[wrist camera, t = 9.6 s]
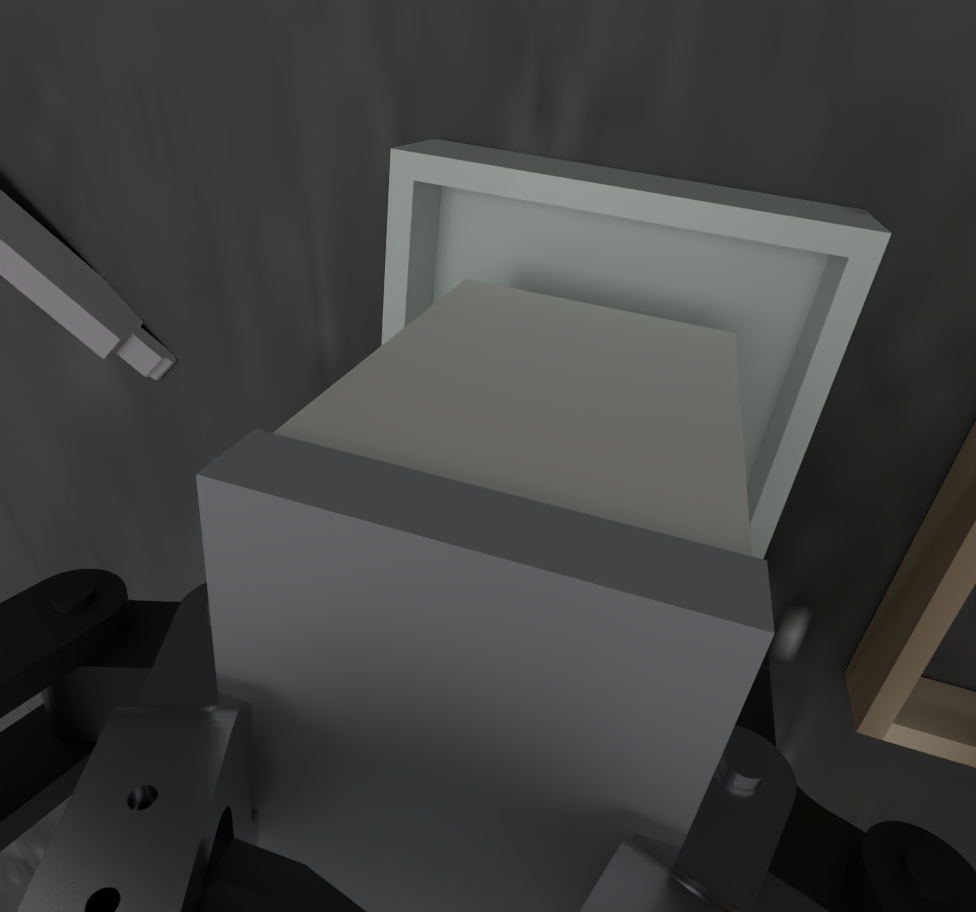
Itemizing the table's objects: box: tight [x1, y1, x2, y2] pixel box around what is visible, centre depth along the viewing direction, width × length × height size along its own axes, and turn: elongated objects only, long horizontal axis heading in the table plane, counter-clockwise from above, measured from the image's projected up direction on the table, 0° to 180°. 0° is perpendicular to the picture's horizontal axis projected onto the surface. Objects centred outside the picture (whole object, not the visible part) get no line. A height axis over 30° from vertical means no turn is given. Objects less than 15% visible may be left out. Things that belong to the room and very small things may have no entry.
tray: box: [382, 139, 891, 559], centre depth 17 cm, size 9×12×2 cm
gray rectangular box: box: [196, 279, 775, 912], centre depth 12 cm, size 5×8×8 cm, turn 171°
